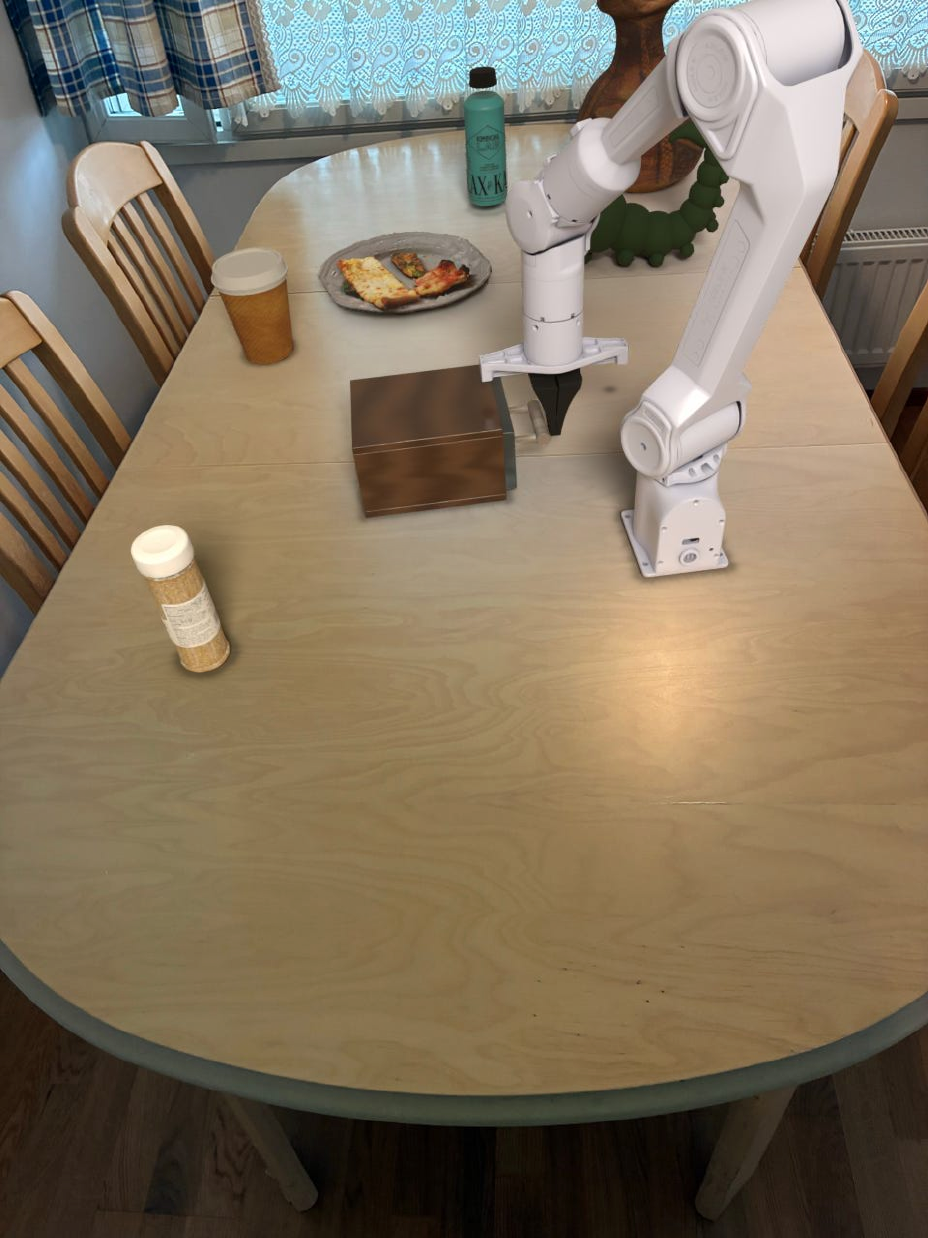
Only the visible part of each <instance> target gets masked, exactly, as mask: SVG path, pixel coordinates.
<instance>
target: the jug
mask: <svg viewBox="0 0 928 1238" xmlns="http://www.w3.org/2000/svg"><path fill="white" fill-rule="evenodd" d="M679 1H680V0H596V2H595V4H596V7H597V9H598V10H599V11H600V12H601V13H603V14H605V15H608V16H609V17H611V19H612V20H613V24H614V29H615V45H614V53H613V56H612V59H611V62H610V64H609V66H608V67H607V68H606V69H605V70H604V71H602V73H601V74H600V75H599V76H598V77H597V78H596V79H595V81H594V82H593V83H592V84H591V86H590V88H589V89H588V91H587V93H586V94H585V97H584V99H583V101H582V103H581V106H580V108H579V111H578V113H577V116H576V120H575V124H576V123H577V122H580V121H583V120H586V119H589V118H591V119H592V120H593V119H596V118H610V119H612V118H613V117H614V116H615V115H616V114H617V112H618V111H619V110H620V109H621V108H622V107H623V105H624V104H625V103H626V102H627V101H628V99H629V98H630V97H631V96H632V95H633V94H634V92H635V91H636V90H637V89H638V88H639V86H640V85H641V84H642V83H643V82H644V81H645V79H646V78H647V77H648V76H649V75H650V73H651V72H652V71H653V70H654V69H655V68H656V66H657V65H658V64H659V63H660V62H661V60H662V59H663V58H664V57H665V56H666V51H665V43H664V35H663V27H664V22H665V19H666V16H667V14H668V12H669V11H670V9H671V8H672V7H673V6H674V5H675V4H676V3H678V2H679ZM688 122H693V121H692V119H691V117H689V118H688V119H686V120H685V121H684V122H683V123H681V124H680V125H679V126H681V125H682V124H684V123H688ZM679 126H678V127H679ZM678 127H676V128H678ZM676 128H675V129H676ZM675 129H674V130H675ZM674 130H673V131H674ZM673 131H671V132H670V133H669V134H668V135H666V136H665V137H664V138H663V139H661V140H660V141H659V142H658V143H656V144H655V145H654V146H653V147H651V148H650V149H649V150H648V151H646V152H645V153H644V154H643V155H641V167H640V172H639V175H638V177H637V179H636V181H635V182H634V183H633V185H631V186H630V187H629V188H628V189H627V190H626V191H625V192H624V193H631V194H635V193H637V194H642V193H652V192H657V191H660V190H662V189H664V188H666V187H668V186H671V185H672V184H675V183H676V182H679V181H680V180H682V179H684V178H687V177H688V176H689V175H691V173H692V172H693V171H694V169H695V168H696V166H697V165H698V164H699V161H700V160H701V158H702V155H703V154H704V151H705V148H701V147H699V146H697V145H696V144H695V143H694V142H693V141H691V140H689V139H685V138H681V139H677V140H675V141H674V142H672V143H669V142H668V138H669V136H670V134H671V133H672V132H673Z"/></svg>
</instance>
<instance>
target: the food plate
mask: <svg viewBox="0 0 928 1238" xmlns="http://www.w3.org/2000/svg"><path fill="white" fill-rule="evenodd" d="M491 263H492V262H490V260H489V259H488V258H487V257H486V256H485V255H484V254H483V253H482V252H481V251H480V250H479V248H477V247H476V246H475V245H474V244H473V243H472V242H470V240H468V238H464V237H461V236H459V235H452V234H448V233H444V234H442V233H436V232H435V233H434V232H428V231H412V232H411V231H408V232H407V231H404V232H395V231H394V232H392V233H391V234H390V232H389V233H387V234H381V235H377V236H373V237H370V238H367V239H363V240H358V241H356V242H353V243H352V244H350V245H348V246H346V247H343V248H341V249H339V250H337V251H336V252H334V253H333V254H331V255H330V256H328V258H326V259H325V260H324V261H323V263H321V265H320V268H319V271H318V272H317V276H318V278H319V280H320V281H321V283H322V286H323V287H324V289H325V290H326V292H328V294H329V296H330V297H331V299H332V300H333V302H335V303H336V304H337V305H339V306H340V307H341V308H345V309H346V310H349V311H355V312H361V313H362V312H363V313H367V314H374V315H391V314H392V315H400V316H401V315H404V314H405V315H406V314H409V313H415V312H416V313H417V312H419V311H420V312H421V311H426V310H432V309H434V308H441V307H445V308H446V307H447V306H449V305H452V304H453V305H454V304H455V303H458V302H460V301H462V300H464V299H465V298H467V297H468V296H469V295H471V294H472V293H474V292H477V291H479V290H482V289H483V287H484V286H485V285H486V284H487V283H489V280H490V278H491V273H493V268H492V264H491Z"/></svg>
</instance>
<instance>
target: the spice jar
mask: <svg viewBox="0 0 928 1238" xmlns="http://www.w3.org/2000/svg"><path fill="white" fill-rule="evenodd" d="M130 554H131V557H132V560H133V562H134V565H135V566H136V569H137V570H138V572H139V573H140V574H142V577H143V578H144V581H145V583H146V585H147V587H148V590H149V592H150V594H151V597H152V598H153V601H154V603H155V605H156V608H157V611H158V612H159V616H160V618H161V621H162V623H163V625H164V628H165V630H166V632H167V634H168V636H169V638H170V640H171V642H172V643H173V645H174V648H175V650H176V652H177V654H178V657H179V662H180V664H181V665H182V667H184V669H186V670H187V671H190V672H193V673H205V672H209V671H213V670H216V669H217V668H219V667H220V666H222V665H223V664H224V663H225V662H226V661H227V659H228V657H229V656H230V654H231V644H230V642H229V641H228V639H227V637H226V635H225V633H224V630H223V628H222V625H221V620H220V617H219V614H218V612H217V609H216V606H215V604H214V601H213V599H212V597H211V594H210V592H209V589H208V586H207V583H206V580H205V578H204V577H203V575H202V573H201V570H200V568H199V565H198V563H197V559H196V558H195V549H194V546H193V543H192V541H191V539H190V536H189V534H188V533H187V531H186V530H185V529H184V528H181V526H180V527H179V526H178V525H172V524H162V525H157V526H154V527H151V528H149V529H146V530H144V531H143V532H142V533H140V534H139V535H138V536H137V537H136V538H135V539H134V541H133V542H132V543H131V547H130Z"/></svg>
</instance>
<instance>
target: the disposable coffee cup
mask: <svg viewBox="0 0 928 1238" xmlns="http://www.w3.org/2000/svg"><path fill="white" fill-rule="evenodd" d="M288 272H289V265H288V262H286V261H285V260H284V257H283V256H282V254H281V253H280V252H279V251H278V250H275V249H273V248H268V247H259V246H258V247H257V246H256V247H246V248H241V249H238V250H237V249H236V250H235V251H231V252H228V253H226V254H223V255H222V256H220V257H219V258H217V259H216V260H215V261H214V263H213V264H212V266H211V276H210V282H211V284H212V285H213V286H214V287H215V289H216V290H217V291H218V293H219V296H220V298H221V301H222V304H223V305H224V307H225V310H226V313H227V315H228V318H229V320H230V322H231V324H232V326H233V327H232V328H233V330H234V332H235V334H236V336H237V338H238V341H239V343H240V345H241V348H242V351H243V353H244V355H245V358H246V359H247V360H248V361H249V362H251V363H253V364H259V365H266V364H268V365H269V364H274V363H277V362H280V361H282V360H284V359H286V358H288V357H289V356H290V355H291V354H292V353H293V352H294V342H293V331H292V320H291V310H290V301H289V291H288V281H287V276H288Z"/></svg>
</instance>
